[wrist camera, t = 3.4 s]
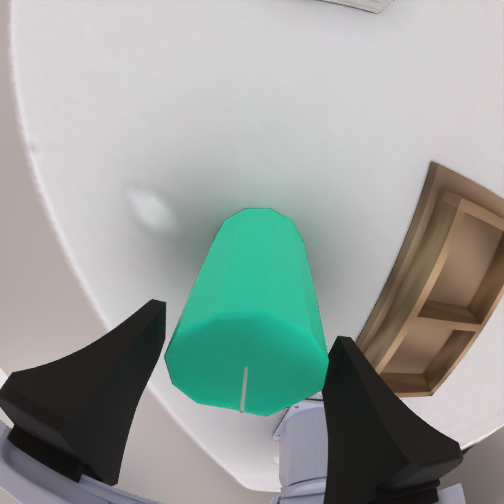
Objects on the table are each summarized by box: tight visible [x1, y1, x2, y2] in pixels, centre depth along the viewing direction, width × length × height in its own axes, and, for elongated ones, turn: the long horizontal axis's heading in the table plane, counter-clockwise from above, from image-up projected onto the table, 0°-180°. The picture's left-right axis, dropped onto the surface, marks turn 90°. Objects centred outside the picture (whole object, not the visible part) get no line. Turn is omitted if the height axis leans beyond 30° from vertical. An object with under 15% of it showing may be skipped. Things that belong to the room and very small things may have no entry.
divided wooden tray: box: [356, 162, 504, 398], centre depth 18 cm, size 20×10×4 cm, turn 169°
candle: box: [164, 208, 329, 416], centre depth 14 cm, size 6×6×12 cm
